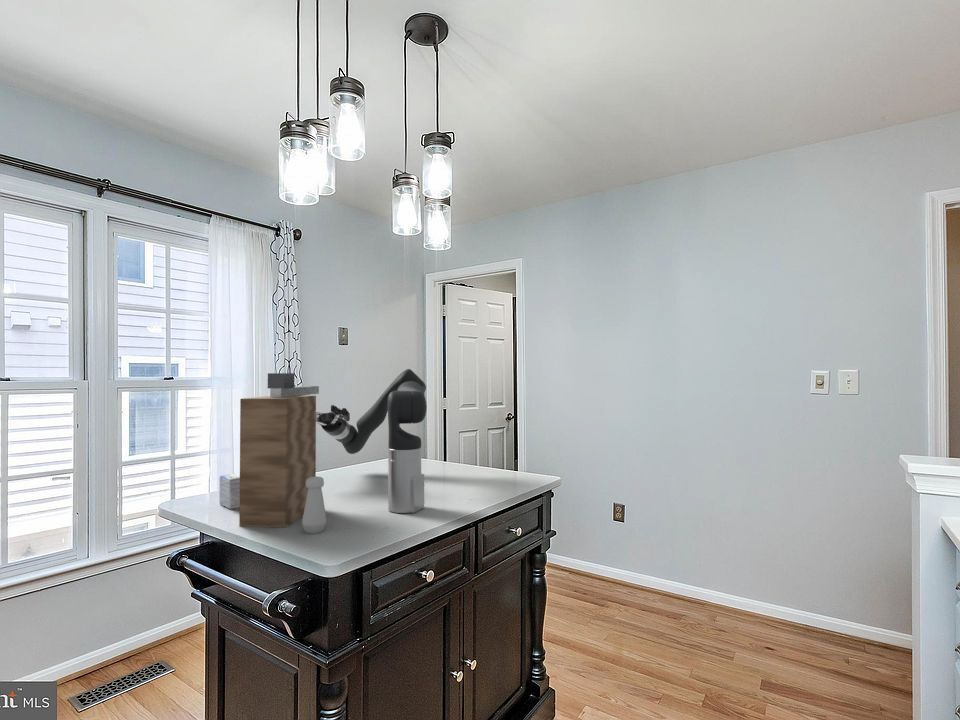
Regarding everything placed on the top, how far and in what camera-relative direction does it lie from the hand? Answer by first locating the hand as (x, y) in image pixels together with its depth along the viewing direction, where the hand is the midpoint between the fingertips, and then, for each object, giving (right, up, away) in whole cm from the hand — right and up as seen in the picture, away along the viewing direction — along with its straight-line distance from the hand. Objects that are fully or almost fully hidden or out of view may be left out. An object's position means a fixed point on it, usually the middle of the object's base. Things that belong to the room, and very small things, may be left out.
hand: (318, 409), depth 163 cm
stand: (-2, -26, -26) cm, 37 cm away
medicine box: (-20, -27, -15) cm, 37 cm away
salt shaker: (+11, -26, -39) cm, 48 cm away
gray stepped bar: (-1, +6, -16) cm, 17 cm away
